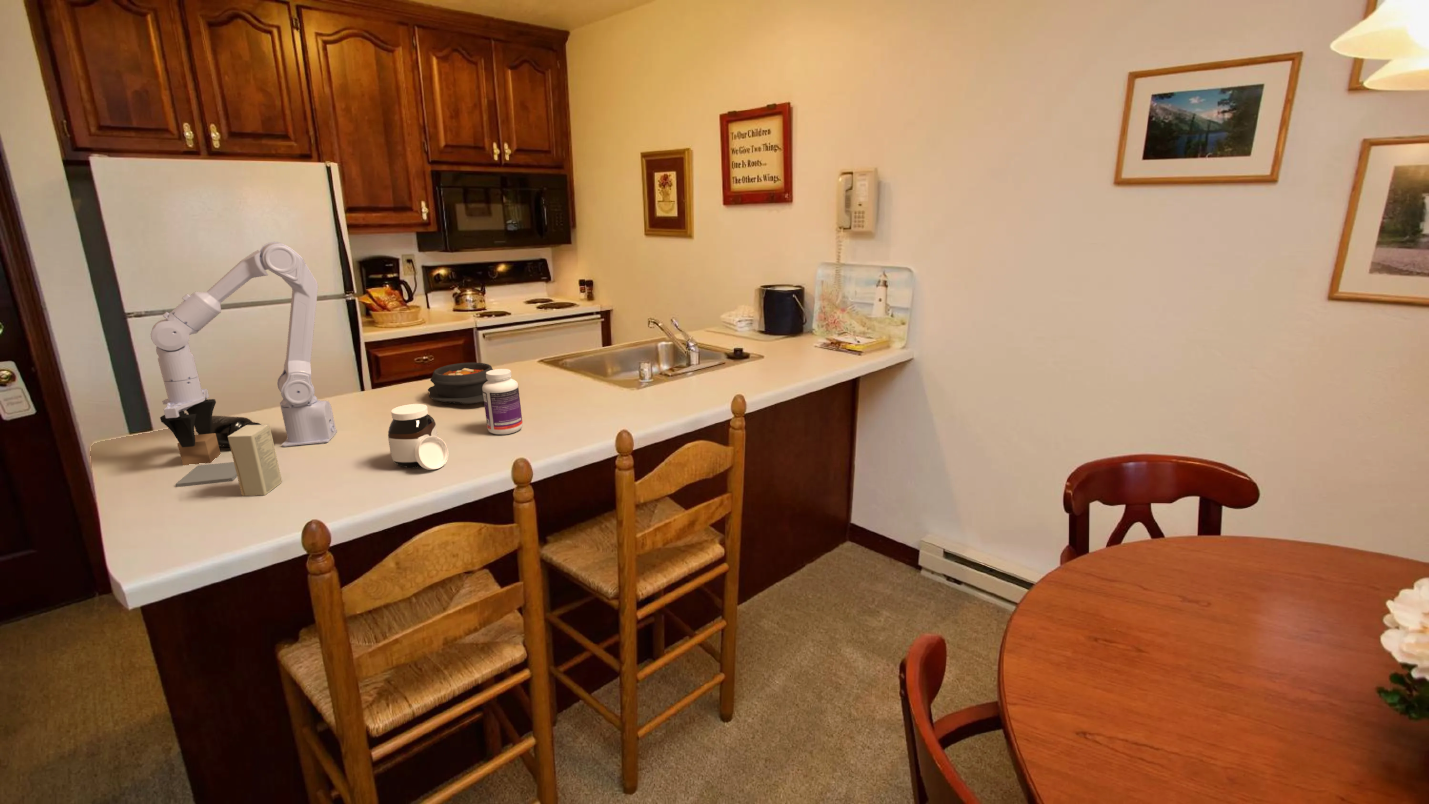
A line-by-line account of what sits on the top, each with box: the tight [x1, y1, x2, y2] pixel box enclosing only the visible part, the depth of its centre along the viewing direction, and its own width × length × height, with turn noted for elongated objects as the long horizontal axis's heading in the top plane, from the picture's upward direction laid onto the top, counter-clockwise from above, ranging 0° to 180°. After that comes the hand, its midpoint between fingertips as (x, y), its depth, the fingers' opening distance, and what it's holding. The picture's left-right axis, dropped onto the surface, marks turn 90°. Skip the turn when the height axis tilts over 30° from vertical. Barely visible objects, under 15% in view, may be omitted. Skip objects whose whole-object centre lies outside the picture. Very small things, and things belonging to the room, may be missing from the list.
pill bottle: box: [482, 368, 523, 436], centre depth 154 cm, size 8×8×14 cm
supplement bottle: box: [197, 415, 262, 448], centre depth 147 cm, size 7×7×12 cm
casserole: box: [427, 362, 494, 405], centre depth 181 cm, size 25×19×8 cm
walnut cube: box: [176, 433, 222, 466], centre depth 140 cm, size 5×5×5 cm
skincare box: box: [228, 424, 283, 497], centre depth 124 cm, size 6×4×12 cm
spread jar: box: [387, 403, 449, 471], centre depth 136 cm, size 12×11×12 cm
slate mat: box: [174, 461, 238, 488], centre depth 133 cm, size 10×10×1 cm
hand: (196, 440), depth 139 cm, fingers open, 7 cm apart
